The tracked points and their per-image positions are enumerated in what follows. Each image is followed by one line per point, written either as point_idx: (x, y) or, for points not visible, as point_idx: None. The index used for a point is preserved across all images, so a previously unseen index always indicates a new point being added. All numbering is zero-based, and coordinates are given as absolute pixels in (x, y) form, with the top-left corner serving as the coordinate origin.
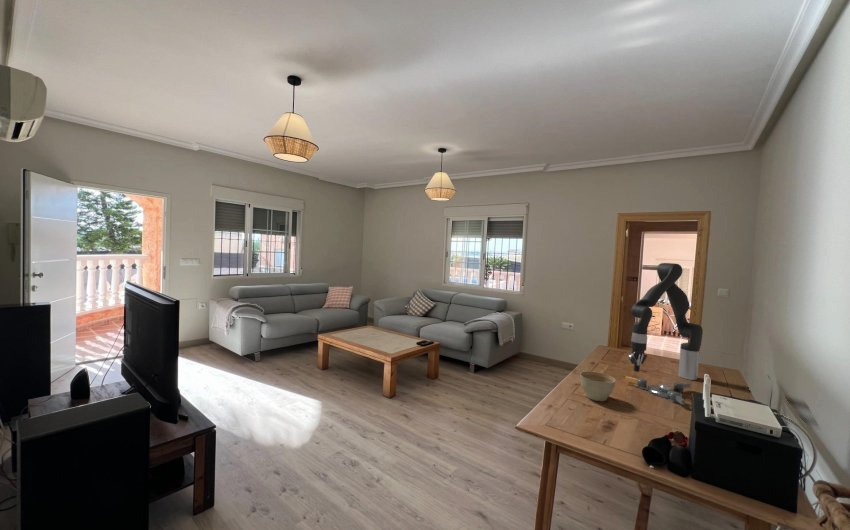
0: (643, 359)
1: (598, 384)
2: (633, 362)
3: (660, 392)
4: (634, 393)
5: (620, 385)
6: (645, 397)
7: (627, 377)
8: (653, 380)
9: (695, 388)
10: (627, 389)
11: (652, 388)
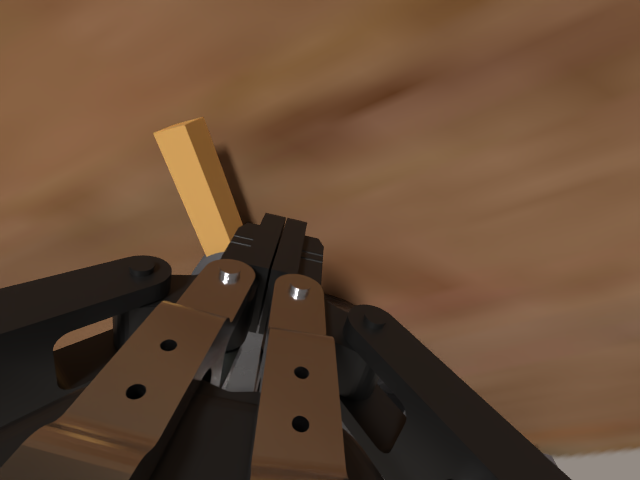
0: (383, 472)
1: None
2: (114, 317)
3: (225, 389)
4: (64, 267)
5: (103, 108)
6: (83, 335)
7: (163, 154)
8: (601, 232)
9: (626, 449)
10: (81, 199)
11: (254, 336)
